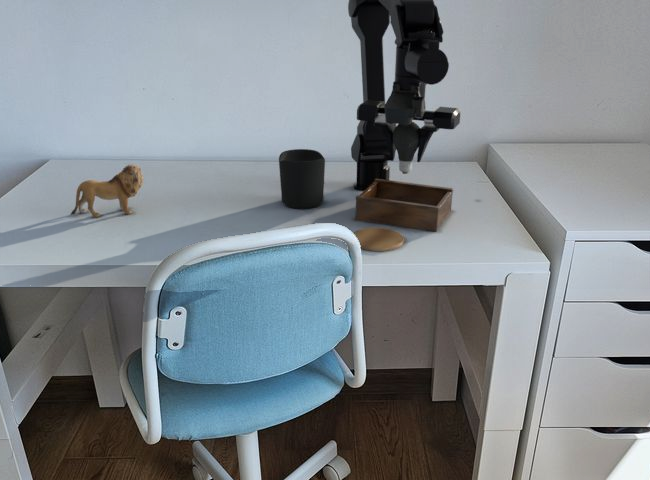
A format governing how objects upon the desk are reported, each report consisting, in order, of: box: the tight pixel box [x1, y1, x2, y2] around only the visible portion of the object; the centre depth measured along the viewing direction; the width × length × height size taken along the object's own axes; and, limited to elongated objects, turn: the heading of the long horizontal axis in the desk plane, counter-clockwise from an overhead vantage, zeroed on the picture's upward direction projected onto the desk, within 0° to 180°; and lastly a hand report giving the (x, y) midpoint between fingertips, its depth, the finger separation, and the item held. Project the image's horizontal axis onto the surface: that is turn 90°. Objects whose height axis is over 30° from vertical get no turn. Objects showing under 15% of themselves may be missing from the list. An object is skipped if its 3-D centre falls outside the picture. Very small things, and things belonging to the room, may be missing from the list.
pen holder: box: [278, 148, 326, 210], centre depth 145 cm, size 9×9×10 cm
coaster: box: [352, 227, 405, 252], centre depth 130 cm, size 10×10×1 cm
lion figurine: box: [70, 164, 144, 218], centre depth 137 cm, size 15×5×9 cm, turn 116°
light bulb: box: [393, 121, 421, 175], centre depth 134 cm, size 6×6×10 cm
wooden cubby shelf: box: [355, 179, 454, 232], centre depth 141 cm, size 17×13×5 cm
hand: (405, 160), depth 135 cm, fingers closed on light bulb, 5 cm apart
